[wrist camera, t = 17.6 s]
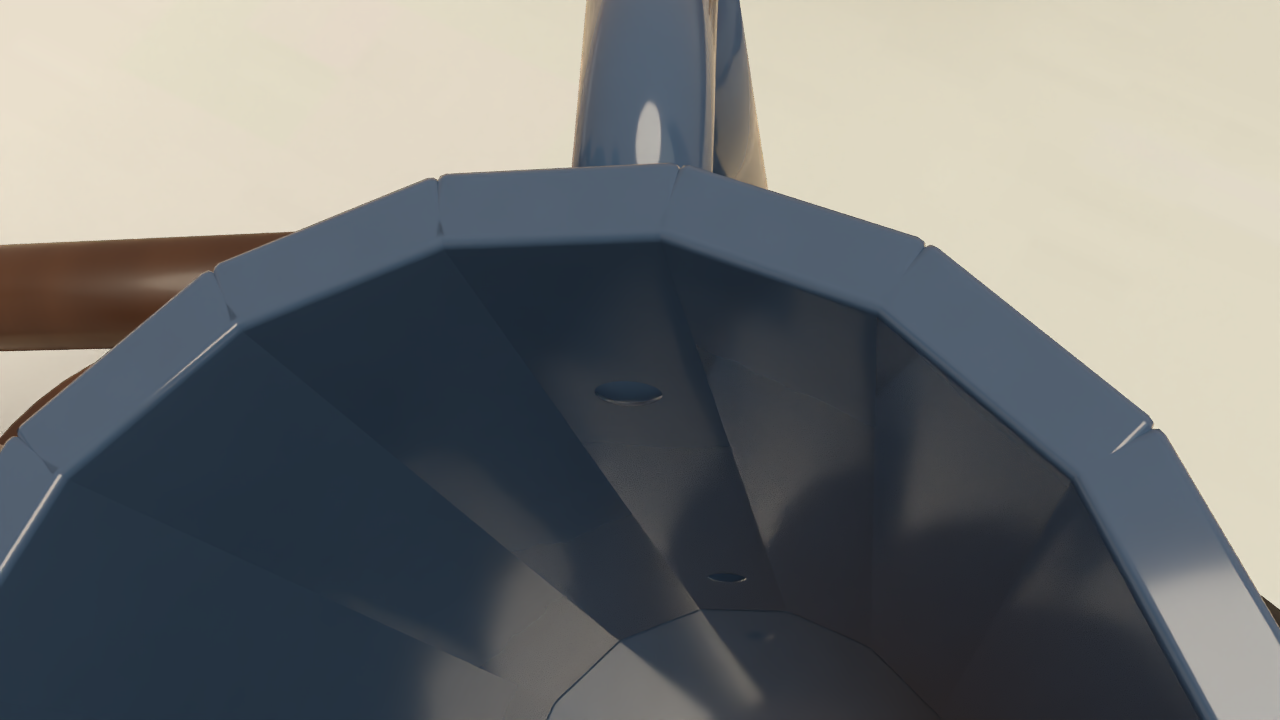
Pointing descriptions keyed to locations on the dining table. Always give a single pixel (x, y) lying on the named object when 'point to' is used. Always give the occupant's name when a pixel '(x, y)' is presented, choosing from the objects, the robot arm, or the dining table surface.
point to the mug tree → (98, 290)
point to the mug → (612, 464)
